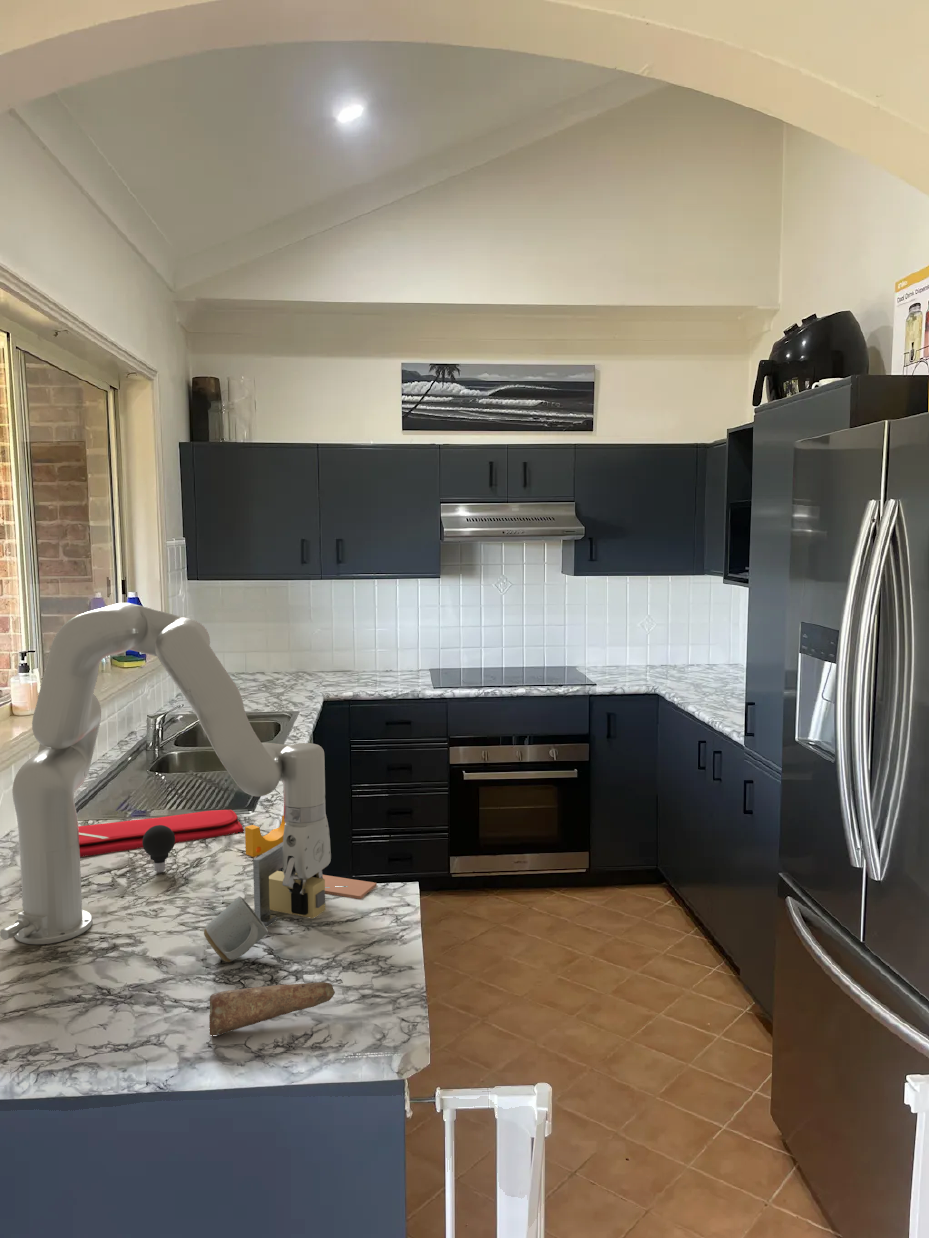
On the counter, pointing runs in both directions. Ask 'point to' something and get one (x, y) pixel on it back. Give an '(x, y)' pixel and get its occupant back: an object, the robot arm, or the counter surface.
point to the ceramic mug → (235, 930)
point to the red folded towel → (133, 831)
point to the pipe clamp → (262, 839)
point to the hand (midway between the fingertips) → (306, 907)
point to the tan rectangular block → (282, 896)
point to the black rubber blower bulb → (158, 845)
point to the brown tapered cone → (263, 1004)
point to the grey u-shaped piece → (265, 881)
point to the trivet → (353, 890)
